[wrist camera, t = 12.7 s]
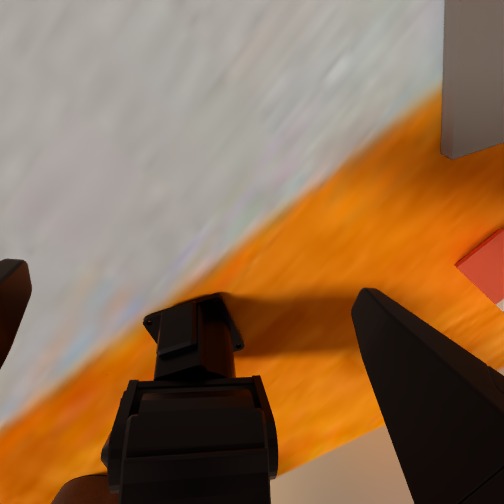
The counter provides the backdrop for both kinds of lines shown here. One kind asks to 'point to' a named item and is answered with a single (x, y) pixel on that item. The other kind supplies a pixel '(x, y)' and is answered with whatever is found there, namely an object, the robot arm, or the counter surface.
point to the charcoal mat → (472, 77)
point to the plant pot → (86, 491)
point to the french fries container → (487, 267)
